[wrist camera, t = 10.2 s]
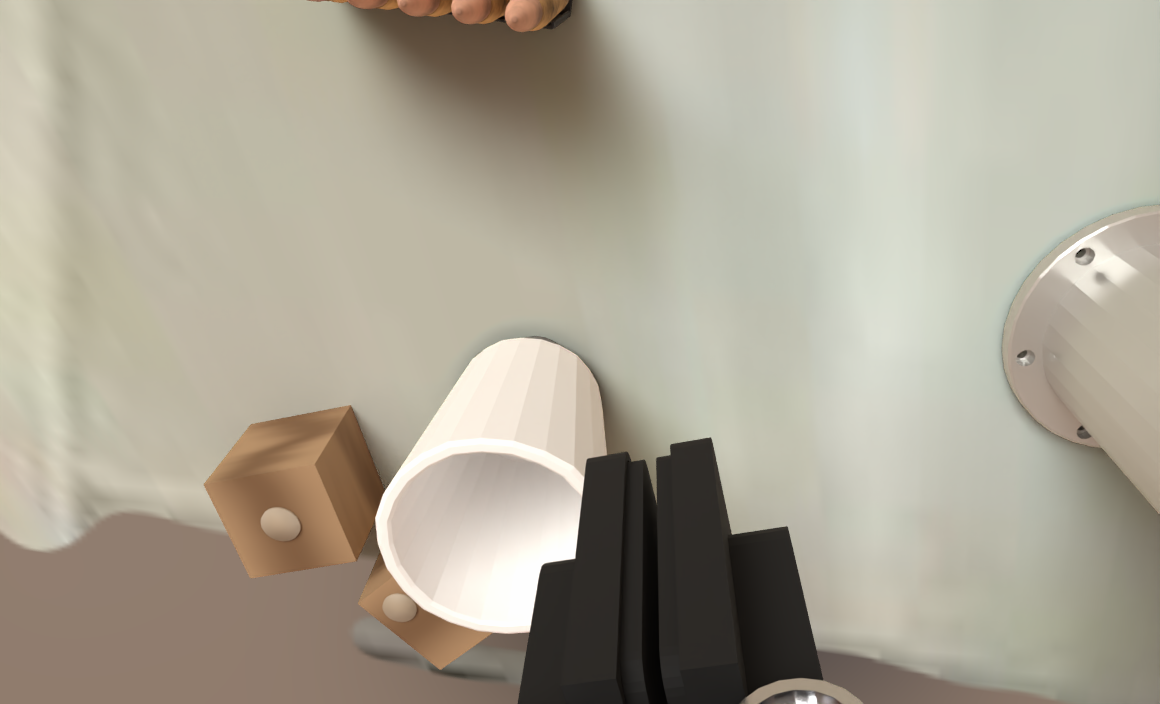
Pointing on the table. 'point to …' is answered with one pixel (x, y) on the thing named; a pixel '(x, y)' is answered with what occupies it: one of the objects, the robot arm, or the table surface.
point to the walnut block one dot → (298, 492)
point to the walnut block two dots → (415, 620)
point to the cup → (494, 486)
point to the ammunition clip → (481, 10)
